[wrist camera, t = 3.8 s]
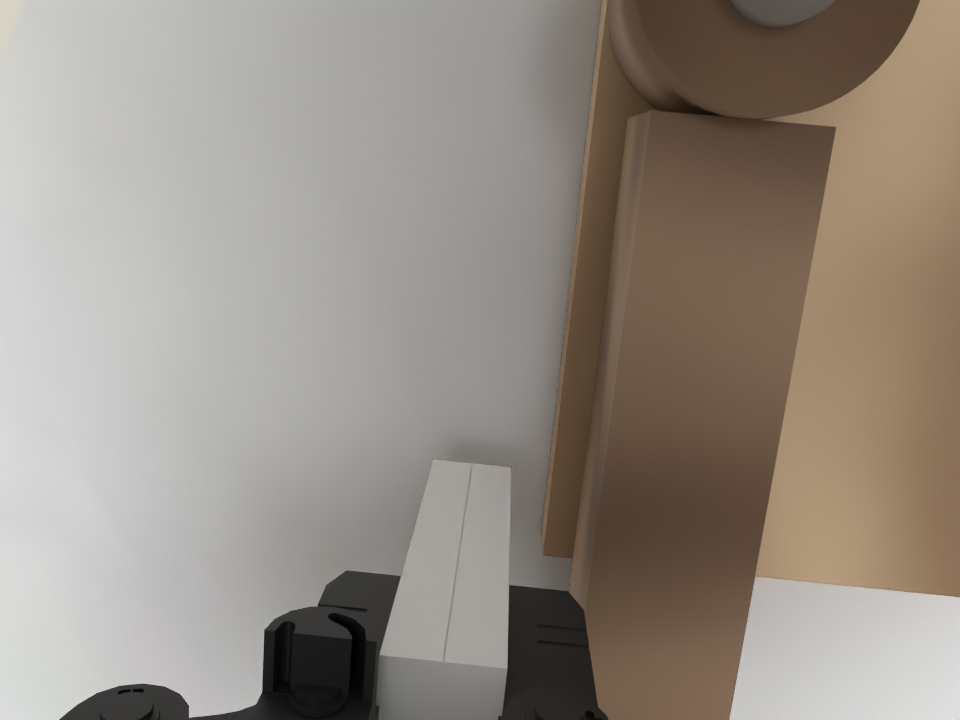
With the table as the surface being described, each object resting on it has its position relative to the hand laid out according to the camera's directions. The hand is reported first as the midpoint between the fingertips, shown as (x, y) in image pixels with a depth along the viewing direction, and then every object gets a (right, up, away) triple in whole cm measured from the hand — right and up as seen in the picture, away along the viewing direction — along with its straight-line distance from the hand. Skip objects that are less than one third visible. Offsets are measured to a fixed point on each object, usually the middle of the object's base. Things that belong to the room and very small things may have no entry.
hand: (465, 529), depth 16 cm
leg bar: (+4, +4, 0) cm, 5 cm away
